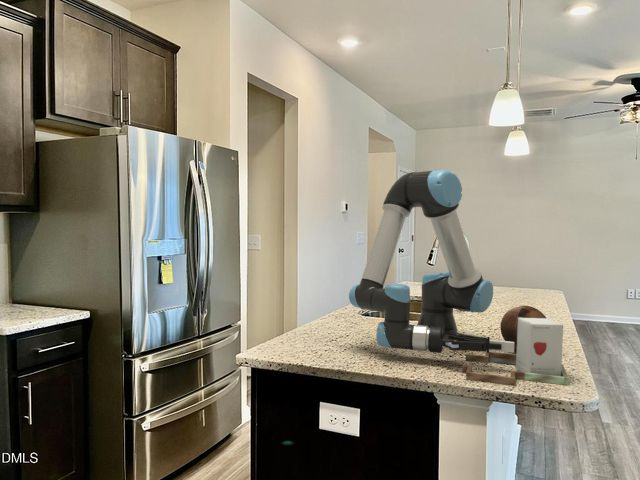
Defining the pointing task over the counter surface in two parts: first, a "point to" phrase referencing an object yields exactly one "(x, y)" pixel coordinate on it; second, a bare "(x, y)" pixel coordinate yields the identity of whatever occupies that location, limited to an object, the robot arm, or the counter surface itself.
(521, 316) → the wooden sphere
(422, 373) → the counter surface
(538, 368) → the supplement box
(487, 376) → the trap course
